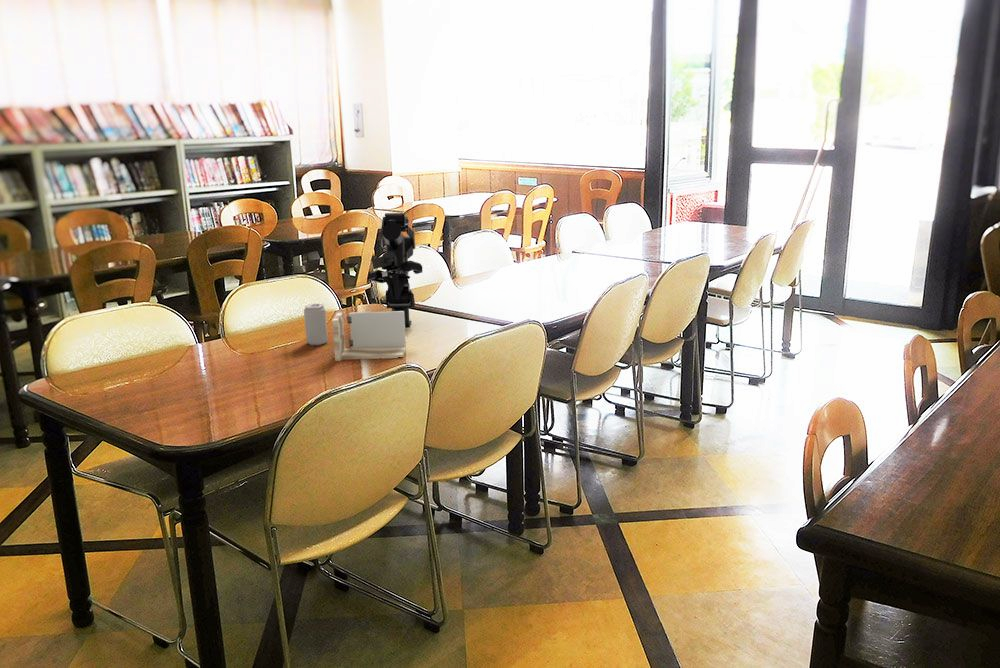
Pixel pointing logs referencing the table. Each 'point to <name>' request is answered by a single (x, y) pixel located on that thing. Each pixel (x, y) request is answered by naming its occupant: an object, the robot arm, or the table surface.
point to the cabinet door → (377, 329)
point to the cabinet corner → (358, 352)
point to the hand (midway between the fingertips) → (395, 298)
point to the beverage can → (315, 324)
